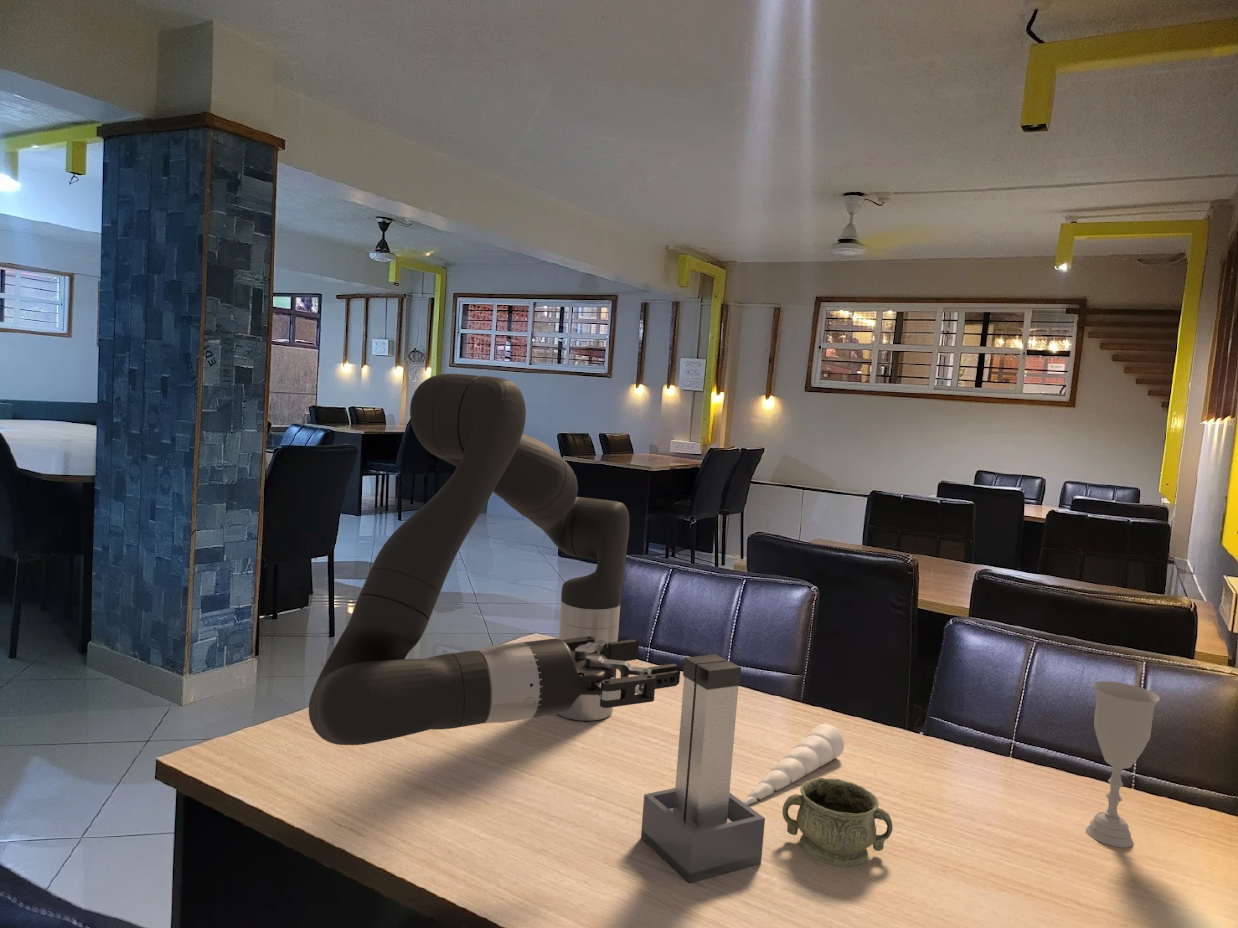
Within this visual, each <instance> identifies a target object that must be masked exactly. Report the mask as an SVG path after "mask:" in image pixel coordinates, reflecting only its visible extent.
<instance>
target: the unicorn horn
mask: <svg viewBox="0 0 1238 928" xmlns="http://www.w3.org/2000/svg"><path fill="white" fill-rule="evenodd" d="M844 747H845V741H844V738H843V735H842V733H841V732H840V730H839V729H838V728H836V727H835V726H834V725H831V724H828V723H820V724H819V725H817V726H815V727H813V729H811V731H810V732H809V733H807V735H806V736H804V737H803V738H802V739H801V740H800V741H799V742H798V743H797V744H796V745H795V746H794V747H793V748H792V749H790V750H789V752H787V754H786V755H785V756H784V757H783V758H782V759H781V760H780V761H778V763H776V765H774V766H773V768H772V769H771V770H770V771H769V772H768V773H767V774H766V775H765V776H764V777H763V778H762V779H761V780H760V781H759V782H758V784H757V785H755V787H754V788H753V789H752V790H751V791H750V792H749V794H748V795H747V796H746V798H745V799H744V801H742V802H743V803H745V804H746V805H747V806H749V805H751V804H754V803H756V802H758V800H762V799H765V798H766V797H768V796H770V795H772V794H774V793H775V792H777V791H780V790H781V789H784V788H785V787H787V786H789V785H790V784H792V783H795V782H796V781H798V780H799V779H801V778H803V777H805V776H807V775H808V774H810V773H812V772H814V771H815V770H817V769H818V768H821V767H822V766H825V764H827V763H830V762H831V761H832V760H835V759H836V758H838V757H840V756H841V755H842V753H843V751H844Z"/></svg>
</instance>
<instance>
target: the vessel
mask: <svg viewBox="0 0 1238 928" xmlns="http://www.w3.org/2000/svg"><path fill="white" fill-rule="evenodd" d="M799 790H800V794H796V793H794V794H791V795H790V796H789V797H787V799H786V801H784V804H783V805H782V810H781V811H782V817H783V820H784V821H785V823H786V825H787V828H786V830H787V833H788V834H790V835H793V836H796V835H797V834H798V833H799V832H798V830H800V832H801V833H802V834H801V836H800V838H799V845H800V847H801V848H802V849H803V851H804V852H805V853H806V854H808V855H810V856H811V857H812V858H813V859H815V860H817V861H819V862H821V863H824V864H828V865H832V866H836V867H854V866H859V865H861V864H863V863H865V862H866V861H867V860H868V857H869V851H868V850H867V848H870V847H871V846H872V848H873V850H874V851H877V852H880V851H881V852H882V850H883V849H884V843H885V841H886V840H888V839H889V838H890V837H891V835H892V833H893V822H892V818H891V816H890V814H889V812H887V811H886V810H885V809H883V808H879V807H880V802H879V800H878V797H876V795H874V793H872V792H871V791H869V790H868V789H866V788H864V787H863V786H861V785H858V784H857V783H854V782H850V781H847V780H843V779H839V778H830V777H829V778H828V777H827V778H826V777H817V778H816V777H815V778H811V779H809V780H806V781H805V782H803V783H802V784H801V786H800V788H799ZM791 806H799V808H798V811H797V815H796V819H793V818H792V817H790V816H789V815H790V814H789V809H790V807H791ZM876 819H877V820H881V821H883V822H885V824H886V831H885V832H884V833H881V834H877V825H876V821H875V820H876Z"/></svg>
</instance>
